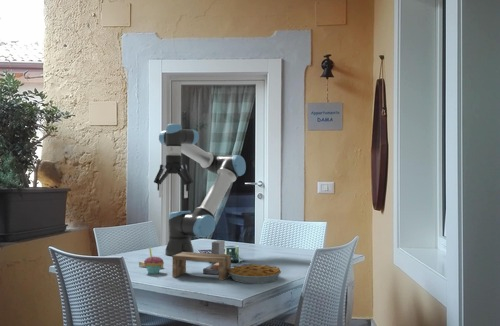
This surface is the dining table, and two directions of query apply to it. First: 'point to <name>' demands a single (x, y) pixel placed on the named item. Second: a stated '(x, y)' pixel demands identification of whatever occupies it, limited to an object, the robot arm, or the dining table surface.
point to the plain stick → (141, 264)
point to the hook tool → (216, 249)
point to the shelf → (181, 258)
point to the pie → (254, 273)
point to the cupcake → (153, 264)
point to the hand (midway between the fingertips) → (173, 197)
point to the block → (216, 266)
